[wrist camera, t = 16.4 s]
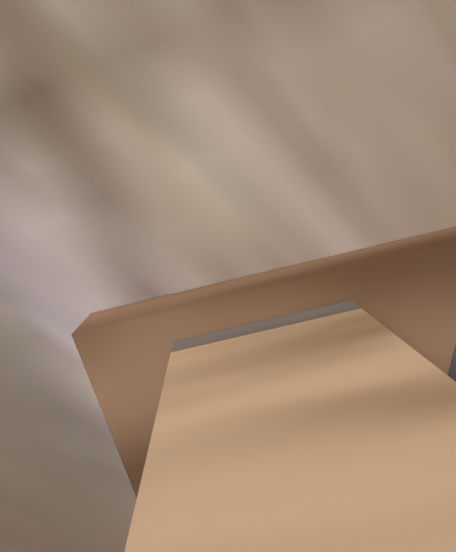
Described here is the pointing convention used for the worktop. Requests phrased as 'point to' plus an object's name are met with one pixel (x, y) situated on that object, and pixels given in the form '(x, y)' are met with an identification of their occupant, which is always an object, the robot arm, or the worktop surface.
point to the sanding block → (300, 442)
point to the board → (259, 307)
